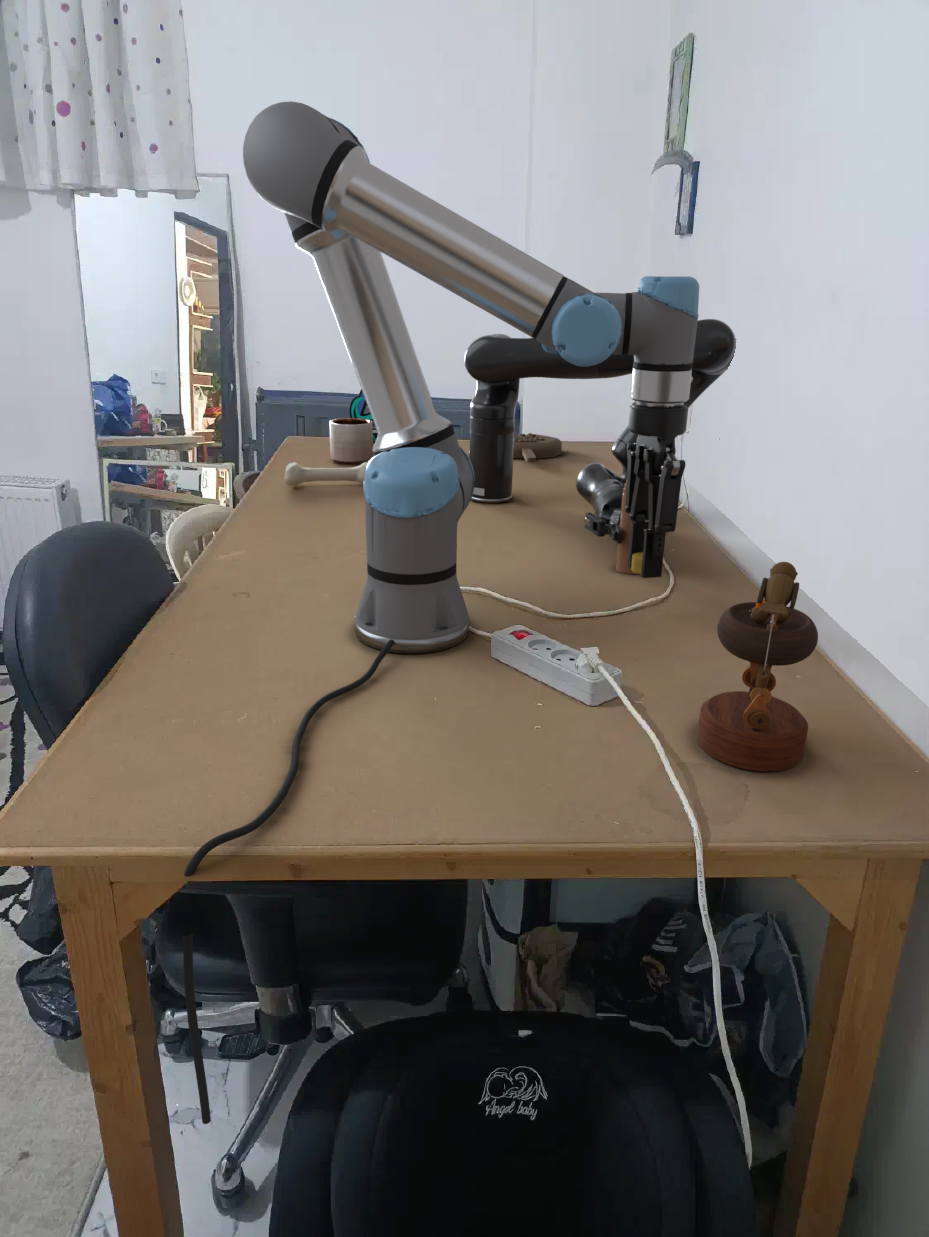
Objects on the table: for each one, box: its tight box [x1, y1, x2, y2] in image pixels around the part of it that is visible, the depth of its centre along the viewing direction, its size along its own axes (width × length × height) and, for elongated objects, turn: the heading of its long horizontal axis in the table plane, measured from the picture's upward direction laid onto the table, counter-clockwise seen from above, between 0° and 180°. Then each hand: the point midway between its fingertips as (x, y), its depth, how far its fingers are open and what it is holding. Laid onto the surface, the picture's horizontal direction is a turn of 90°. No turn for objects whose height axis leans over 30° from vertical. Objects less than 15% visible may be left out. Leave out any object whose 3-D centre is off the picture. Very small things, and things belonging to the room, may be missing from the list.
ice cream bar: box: [513, 432, 563, 463], centre depth 220 cm, size 21×28×4 cm
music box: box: [696, 561, 819, 772], centre depth 84 cm, size 15×11×20 cm
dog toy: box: [283, 461, 369, 487], centre depth 188 cm, size 20×6×5 cm, turn 99°
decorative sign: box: [348, 388, 378, 445], centre depth 230 cm, size 19×2×15 cm, turn 86°
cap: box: [631, 552, 643, 575], centre depth 119 cm, size 4×4×2 cm
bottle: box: [615, 480, 647, 575], centre depth 135 cm, size 4×4×18 cm
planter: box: [328, 417, 375, 464], centre depth 212 cm, size 11×11×10 cm
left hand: (644, 571), depth 120 cm, fingers closed on cap, 4 cm apart
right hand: (635, 537), depth 133 cm, fingers closed on bottle, 4 cm apart
